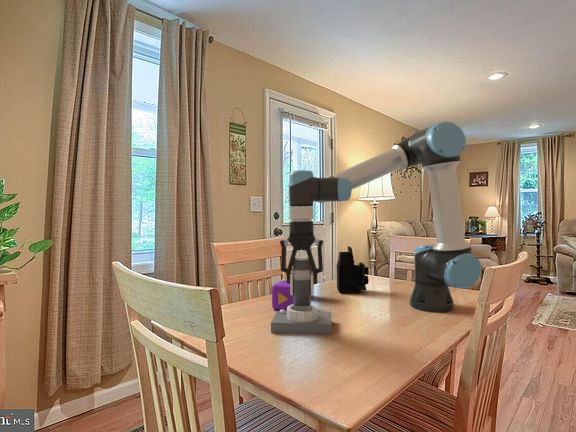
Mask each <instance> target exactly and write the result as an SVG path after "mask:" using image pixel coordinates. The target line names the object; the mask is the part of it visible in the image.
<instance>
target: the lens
mask: <svg viewBox="0 0 576 432" xmlns="http://www.w3.org/2000/svg"><path fill="white" fill-rule="evenodd" d="M292 268H293V271H292V273H293V304H294V305H296V306H309V305H311V304H312V298H311V264H310V260H309V258H308V256H307V257H305V256H297V257H296V256H295V259H294V261H293V267H292Z"/></svg>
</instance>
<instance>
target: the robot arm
mask: <svg viewBox="0 0 576 432" xmlns="http://www.w3.org/2000/svg"><path fill="white" fill-rule="evenodd" d="M466 138H467V137H466V135H465V133H464V131H463V129H462V128H461V127H460V126H458V125H457V124H456V123H455V122H451V121H440V122H437V123H433V124H432V125H429V126H428V127H425V128H423V129H421V130H418V131H417V132H415V133H413V134H411V135H410V136H408V137H406V138H405V139H404V140H402V141H399V142H397V143H396V144H394V145H392V147H391V149H389V150H387V151H383V153H380V154H378V155H375V156H373V157H372V158H369V159H366V160H364V161H362V162H360V163H357V164H355V165H352V166H350V167H349V168H346V169H345V170H342V171H340V172H337V173H335V174H333V175H331V176H328V177H316V176H314V173H313V171H311V170H306V169H305V170H302V169H301V170H294V171H291V172H290V173H289V178H288V179H289V181H288V183H289V184H288V198H289V199H288V202H289V203H288V204H289V207H288V209H289V210H288V211H289V213H288V214H289V220H290V221H289V236H288V238H285V239H281V240H280V241H279V243H280V247H281V255H280V256H281V257H280V272H282V273H286V274H287V276H286V281H287V284H290V295H293V272H292V268H293V261H294V259H295V258H296V256H297V253H298V251H305V252H306V254H307V257H308V258H309V260H310V264H311V268H312V271H313V273H311V296H313V295H314V294H315V290H314V289H315V285H317V284H318V274H319V273H323V270H324V267H323V266H324V265H323V263H324V262H323V249H322V248H323V244H324V240H323V239H318V238H316V236H315V235H314V234H315V233H314V232H315V231H314V229H315V228H314V222H313V219H314V202H318V203H320V204H322V203H329V202H339V203H340V202H347V201H349V200H350V199H351V197H352V192H353V190H354V189H357V188H359V187H361V186H364V185H366V184H368V183H370V182H373V181H375V180H377V179H379V178H381V177H384V176H387V175H388V174H391V173H392V172H393V173H394V172H395V171H398V170H406V169H408V168H411V167H414V166H418V165H421V167H422V169H423V170H424V171H425V172H427V175H428V184H429V191H430V192H429V193H430V198H431V207H432V215H433V223H434V230H435V238H436V239H435V240H436V243H435V244H431V245H429V244H428V245H425V244H424V245H417V246H415V248H414V254H413V257H414V285H413V286H414V287H413V289H412V292H411V294H410V298H409V305H410V307H412V308H414V309H417V310H421V311H425V312H433V313H445V312H451V311H453V310H454V309H455V303H454V302H455V301H454V299H453V296H452V293H451V291H450V288H455V289H461V290H462V289H463V290H464V289H465V290H466V289H468V288H471V287H473V286H474V285H475V284H476V283H477V281H479V279H480V277H481V274H482V263H481V261H480V260H479V258H478V257H477V256H475V255H474V254H473V251H472V245H471V243H469V242H468V241H467V240H466V236H465V230H464V229H465V228H464V221H463V213H462V212H463V211H462V206H461V205H462V204H461V197H460V190H459V183H458V181H459V180H458V172H457V167H458V166H459V165H460V164H461V155H460V154H461V153H463V151H464V149H465V147H466V144H467V141H466V140H467V139H466ZM314 243H315V246H316V247H317V263H318V265H317V266H318V267H317V266H316V262H315V259H314V255H313V253H312V248H311V247H312V245H313V244H314ZM289 244H290V245H291V247H292V252H291V255H290V258H289V261H288V265H287V246H288V245H289ZM286 266H287V267H286ZM313 297H314V296H313Z"/></svg>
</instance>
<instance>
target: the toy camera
mask: <svg viewBox="0 0 576 432" xmlns="http://www.w3.org/2000/svg"><path fill="white" fill-rule="evenodd" d="M292 304H293V295H290V284H287V279H281V281H278V282H276V283H274V284H273V285H272V286H271V306H272V307H271V308H272V309H273V310H277V311H280V310H285V311H287V307H288V306H290V305H292Z"/></svg>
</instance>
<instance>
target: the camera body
mask: <svg viewBox="0 0 576 432" xmlns="http://www.w3.org/2000/svg"><path fill="white" fill-rule="evenodd" d="M332 322H333V321H332V312H327V311H326V312H325V311H319V307H318V306H317V305H315V304H312V303H311V305H309V306H296V305H294V304H292V305H290V306H288V307H287V311H285V310H277V311H276V313H275V314H274V316H273V319H272V320H271V321H270V333H273V334H275V333H276V334H277V333H278V334H302V335H303V334H305V335H326V336H327V335H329V336H330V335H332Z"/></svg>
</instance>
